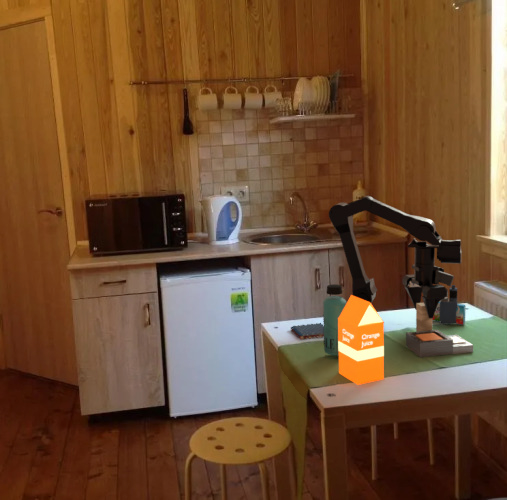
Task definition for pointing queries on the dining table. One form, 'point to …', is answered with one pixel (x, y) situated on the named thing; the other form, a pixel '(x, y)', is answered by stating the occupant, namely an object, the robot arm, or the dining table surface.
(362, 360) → the orange juice
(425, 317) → the tan wooden block
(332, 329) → the beverage bottle
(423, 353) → the box
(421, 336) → the button
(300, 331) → the woven mat
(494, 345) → the dining table surface
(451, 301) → the vaping device
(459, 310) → the yogurt
